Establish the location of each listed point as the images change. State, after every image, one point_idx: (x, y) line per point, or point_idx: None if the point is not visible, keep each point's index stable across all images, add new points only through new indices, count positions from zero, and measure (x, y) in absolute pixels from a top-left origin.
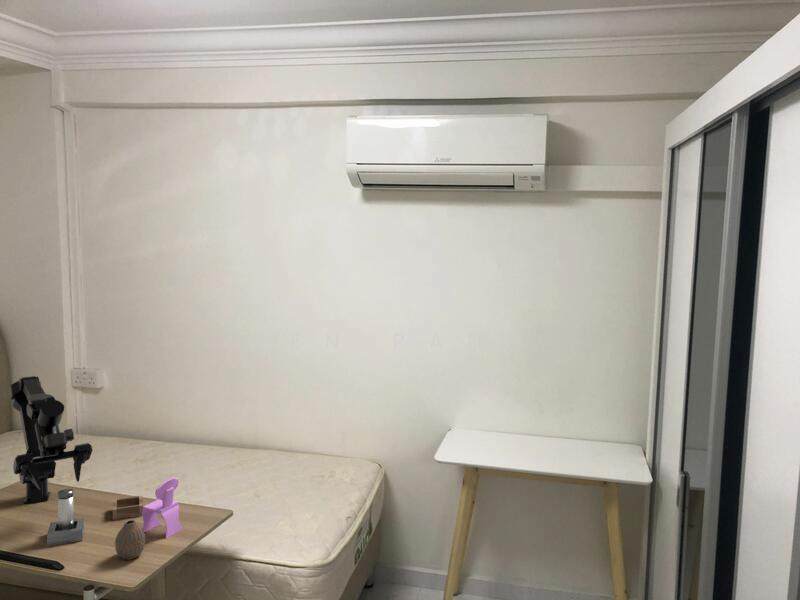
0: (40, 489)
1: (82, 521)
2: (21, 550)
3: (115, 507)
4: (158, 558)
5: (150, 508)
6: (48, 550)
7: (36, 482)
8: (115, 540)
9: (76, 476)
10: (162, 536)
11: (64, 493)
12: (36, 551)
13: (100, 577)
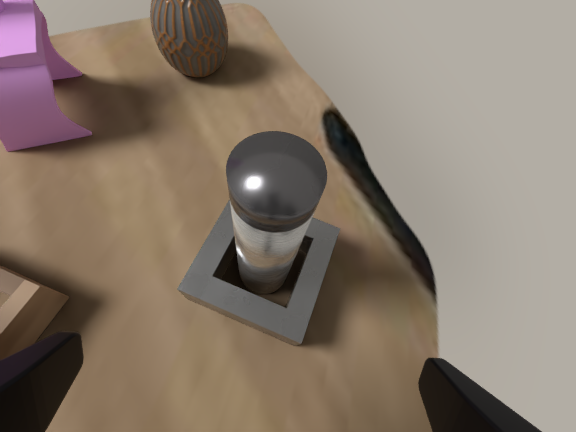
0: (424, 376)
1: (202, 253)
2: (397, 272)
3: (9, 304)
4: None
5: (33, 30)
6: (333, 215)
7: (514, 422)
8: (221, 31)
9: (35, 397)
10: (78, 86)
11: (296, 139)
12: (361, 233)
13: (282, 43)
